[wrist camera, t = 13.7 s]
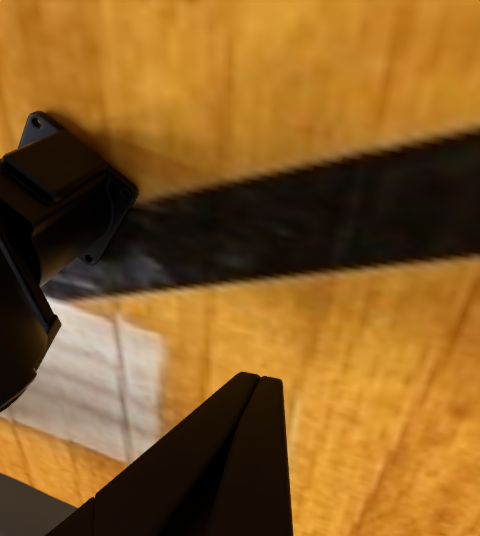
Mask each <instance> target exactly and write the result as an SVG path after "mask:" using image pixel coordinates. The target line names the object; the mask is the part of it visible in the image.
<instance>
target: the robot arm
mask: <svg viewBox="0 0 480 536" xmlns="http://www.w3.org/2000/svg"><path fill="white" fill-rule="evenodd" d="M38 119H39V121H40V122H41V125H40V124H39V122H38ZM125 189H127V190H128V191H129V192H130V195H129V194H127V192H126V190H125ZM138 194H139V193H138V189H137V187H136V186H135V185H134V184H133V183H132V182H131V181H130V180H128V179H127V178H126V177H125V176H123V175H122V174H121V173H120V172H118V171H117V170H116V169H115V168H113V167H112V166H111V165H109V164H108V163H107V162H106V161H105V160H104V159H102V158H101V157H100V156H99V155H97V154H96V153H95V152H94V151H92V150H91V149H90V148H89V147H87V146H86V145H85V144H84V143H82V142H81V141H80V140H79V139H77V138H76V137H75V136H73V135H72V134H71V133H70V132H68V131H67V130H66V129H64V128H63V127H62V126H60V125H59V124H58V123H57V122H55V121H54V120H53V119H52V118H50V117H49V116H48V115H47V114H45V113H44V112H42V111H36V112H33V113H31V114H30V115H29V116H28V119H27V122H26V125H25V128H24V131H23V134H22V137H21V140H20V143H19V146H18V149H16V150H14V151H12V152H9V153H7V154H5V155H4V156H3V158H0V412H1V411H3V410H5V409H6V408H7V407H8V406H10V405H11V404H12V403H13V402H15V401H16V400H17V399H18V398H19V397H20V396H21V395H22V394H23V392H24V391H25V390H26V388H27V387H28V386H29V385H30V384H31V383H32V382H33V381H34V379H35V377H36V375H37V372H36V371H37V369H38V367H39V365H40V364H41V362H42V360H43V358H44V356H45V354H46V353H47V351H48V349H49V347H50V345H51V343H52V342H53V340H54V338H55V336H56V334H57V332H58V331H59V329H60V327H61V322H60V320H59V318H58V316H57V315H55V314H54V313H53V311H52V309H51V307H50V305H49V303H48V301H47V299H46V298H45V296H44V294H43V292H42V290H41V288H40V287H42V286H43V285H44V284H45V283H46V282H48V281H49V280H50V279H51V278H52V277H54V276H55V275H56V274H57V273H58V272H60V271H61V270H62V269H63V268H64V267H66V266H67V265H68V264H69V263H70V262H72V261H73V260H74V259H75V258H76V257H78V258H79V259H81V260H82V261H83V262H85V263H86V264H88V265H90V266H94V265H95V264H97V263H98V262H99V261H100V259H101V258H102V256H103V254H104V253H105V251H106V249H107V248H108V246H109V244H110V243H111V241H112V239H113V238H114V236H115V234H116V232H117V231H118V229H119V227H120V226H121V224H122V222H123V221H124V219H125V217H126V216H127V214H128V212H129V211H130V209H131V207H132V206H133V204H134V202H135V201H136V199H137V197H138ZM90 256H91V257H92V258H91V257H90ZM45 536H293V524H292V510H291V495H290V481H289V467H288V453H287V439H286V424H285V410H284V396H283V383H282V380H281V379H278V378H272V377H267V376H263V377H260V376H259V375H257V374H252V373H247V372H240V373H238V374H236V375H235V376H234V377H233V378H232V379H231V380H229V381H228V382H227V383H226V384H225V385H223V386H222V387H221V388H220V389H219V390H218V391H216V392H215V393H214V394H213V395H212V396H210V397H209V398H208V399H207V400H206V401H205V402H203V403H202V404H201V405H200V406H199V407H198V408H196V409H195V410H194V411H193V412H192V413H190V414H189V415H188V416H187V417H186V418H185V419H183V420H182V421H181V422H180V423H179V424H178V425H176V426H175V427H174V428H173V429H172V430H170V431H169V432H168V433H167V434H166V435H165V436H163V437H162V438H161V439H160V440H159V441H157V442H156V443H155V444H154V445H153V446H152V447H150V448H149V449H148V450H147V451H146V452H145V453H143V454H142V455H141V456H140V457H139V458H137V459H136V460H135V461H134V462H133V463H132V464H130V465H129V466H128V467H127V468H126V469H124V470H123V471H122V472H121V473H120V474H119V475H117V476H116V477H115V478H114V479H113V480H112V481H110V482H109V483H108V484H107V485H106V486H104V487H103V488H102V489H101V490H100V491H99V492H97V493H96V495H95V498H94V497H91V498H90V499H89V500H88V501H86V502H85V503H84V504H83V505H82V506H81V507H79V508H78V509H77V510H76V511H75V512H74V513H72V514H71V515H70V516H69V517H67V518H66V519H65V520H64V521H62V522H61V523H60V524H59V525H58V526H56V527H55V528H54V529H53V530H51V531H50V532H49V533H48V534H46V535H45Z"/></svg>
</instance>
